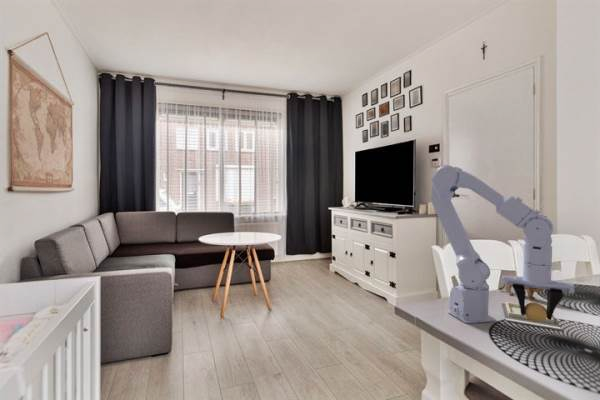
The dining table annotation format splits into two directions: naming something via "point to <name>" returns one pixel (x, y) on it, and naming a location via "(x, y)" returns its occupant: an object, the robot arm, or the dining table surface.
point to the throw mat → (515, 316)
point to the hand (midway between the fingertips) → (535, 315)
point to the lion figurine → (529, 289)
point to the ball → (535, 312)
